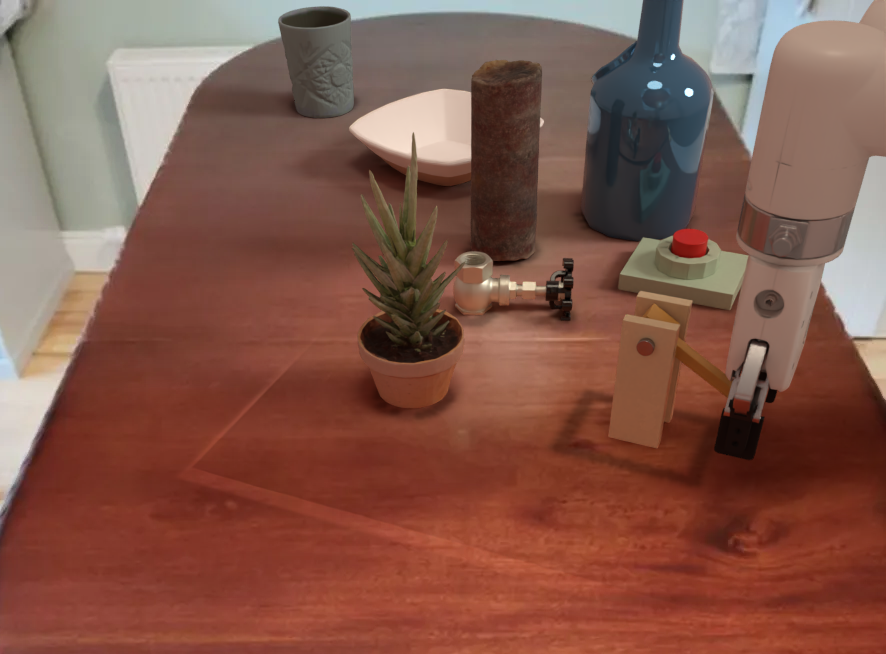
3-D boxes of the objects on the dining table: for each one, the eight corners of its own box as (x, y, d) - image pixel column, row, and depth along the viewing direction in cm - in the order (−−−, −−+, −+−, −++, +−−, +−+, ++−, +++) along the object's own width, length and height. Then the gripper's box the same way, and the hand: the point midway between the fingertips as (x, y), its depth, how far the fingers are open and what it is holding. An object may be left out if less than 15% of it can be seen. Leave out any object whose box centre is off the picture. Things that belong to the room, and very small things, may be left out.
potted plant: (387, 442, 90) (367, 165, 72) (348, 389, 96) (320, 121, 78) (486, 412, 92) (490, 138, 75) (442, 362, 98) (436, 98, 81)
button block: (747, 274, 109) (754, 239, 106) (729, 314, 103) (736, 278, 101) (640, 255, 113) (645, 221, 110) (617, 292, 107) (621, 257, 104)
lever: (753, 402, 85) (772, 384, 83) (740, 435, 81) (760, 417, 80) (641, 314, 83) (658, 294, 82) (624, 344, 80) (641, 324, 78)
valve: (451, 335, 102) (569, 337, 101) (450, 275, 97) (574, 276, 96) (455, 302, 106) (568, 304, 106) (454, 243, 102) (573, 244, 101)
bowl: (563, 160, 131) (565, 118, 128) (451, 216, 121) (450, 172, 117) (443, 120, 142) (442, 81, 138) (331, 168, 131) (326, 127, 128)
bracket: (717, 427, 90) (745, 297, 81) (692, 485, 84) (720, 353, 75) (589, 398, 94) (602, 271, 84) (558, 453, 88) (568, 322, 79)
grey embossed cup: (354, 119, 143) (347, 26, 135) (284, 120, 143) (272, 28, 135) (360, 94, 150) (353, 4, 142) (293, 95, 151) (282, 5, 142)
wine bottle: (712, 213, 120) (765, -84, 98) (659, 257, 112) (704, -54, 91) (612, 186, 126) (641, -100, 104) (556, 226, 118) (575, -73, 97)
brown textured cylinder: (513, 277, 110) (520, 83, 96) (457, 261, 113) (455, 70, 99) (546, 248, 114) (557, 59, 100) (491, 234, 117) (494, 48, 103)
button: (709, 247, 106) (712, 231, 105) (700, 262, 104) (703, 246, 103) (675, 241, 107) (678, 226, 106) (667, 256, 105) (669, 240, 104)
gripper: (828, 289, 64) (769, 498, 77) (865, 182, 75) (808, 380, 88) (712, 268, 67) (674, 475, 79) (764, 167, 78) (723, 363, 90)
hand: (745, 424), depth 83 cm, fingers open, 7 cm apart
